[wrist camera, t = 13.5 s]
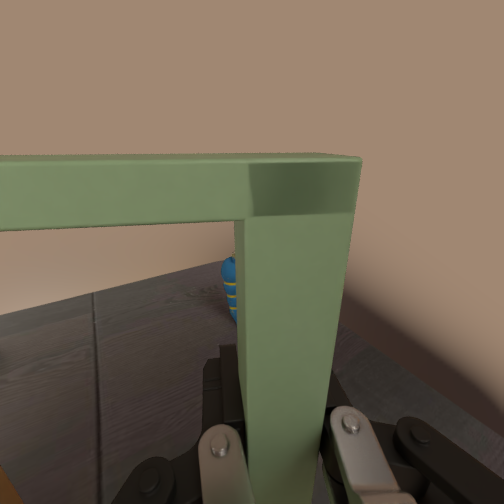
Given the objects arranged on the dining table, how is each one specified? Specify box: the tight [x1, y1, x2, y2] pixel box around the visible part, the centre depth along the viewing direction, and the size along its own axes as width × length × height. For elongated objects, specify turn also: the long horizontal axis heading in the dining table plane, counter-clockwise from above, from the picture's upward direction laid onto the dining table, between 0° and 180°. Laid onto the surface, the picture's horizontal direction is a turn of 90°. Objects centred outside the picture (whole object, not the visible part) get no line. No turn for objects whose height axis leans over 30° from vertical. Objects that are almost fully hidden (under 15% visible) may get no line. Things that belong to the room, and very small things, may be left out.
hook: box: [0, 153, 362, 504], centre depth 9 cm, size 14×5×19 cm, turn 99°
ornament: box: [221, 254, 237, 324], centre depth 46 cm, size 5×5×15 cm
